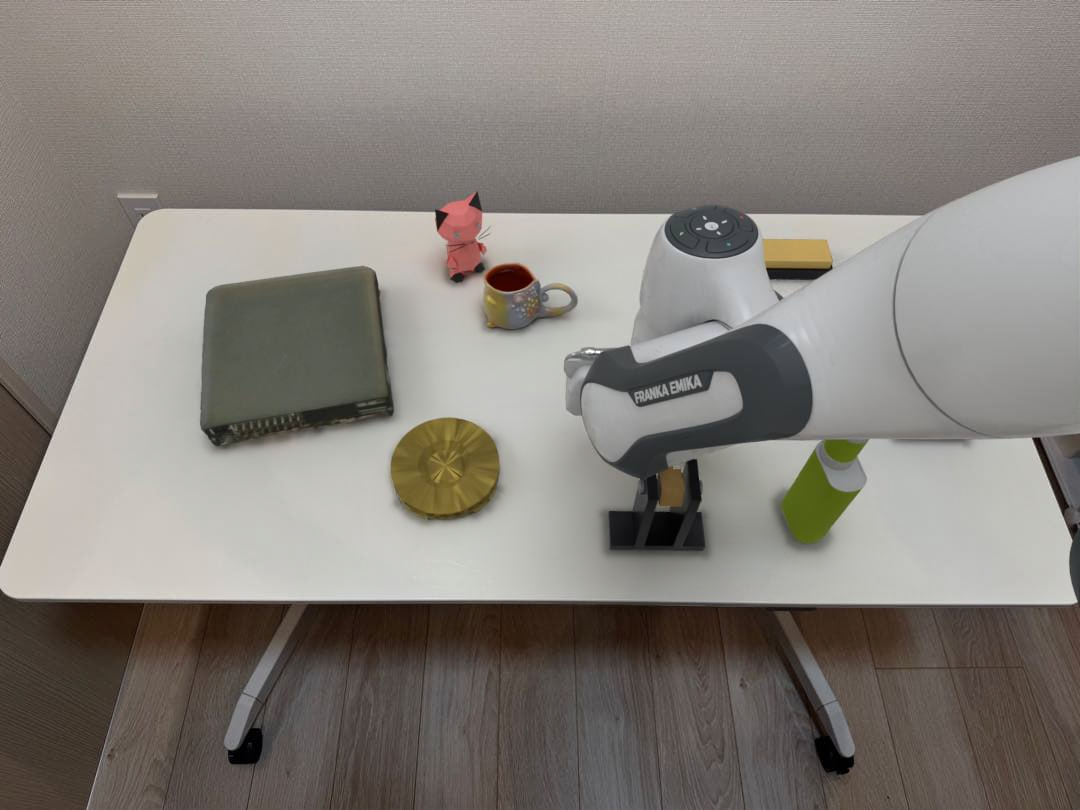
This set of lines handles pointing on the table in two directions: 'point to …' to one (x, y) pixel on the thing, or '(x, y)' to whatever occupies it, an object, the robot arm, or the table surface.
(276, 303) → the network switch
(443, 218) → the cat figurine
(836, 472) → the vape
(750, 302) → the robot arm
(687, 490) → the switch bracket
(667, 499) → the switch lever
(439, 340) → the table surface
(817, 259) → the whetstone on a base
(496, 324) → the mug
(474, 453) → the gold round metal disc
